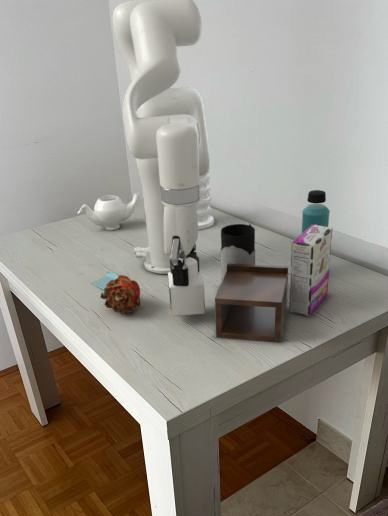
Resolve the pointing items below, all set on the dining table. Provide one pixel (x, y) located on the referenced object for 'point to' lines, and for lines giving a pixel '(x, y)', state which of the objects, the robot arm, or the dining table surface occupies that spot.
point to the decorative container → (204, 203)
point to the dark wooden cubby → (252, 302)
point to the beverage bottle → (315, 210)
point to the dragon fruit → (122, 294)
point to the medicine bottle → (188, 290)
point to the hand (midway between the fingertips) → (185, 276)
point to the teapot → (110, 211)
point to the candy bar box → (310, 269)
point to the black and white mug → (237, 246)
